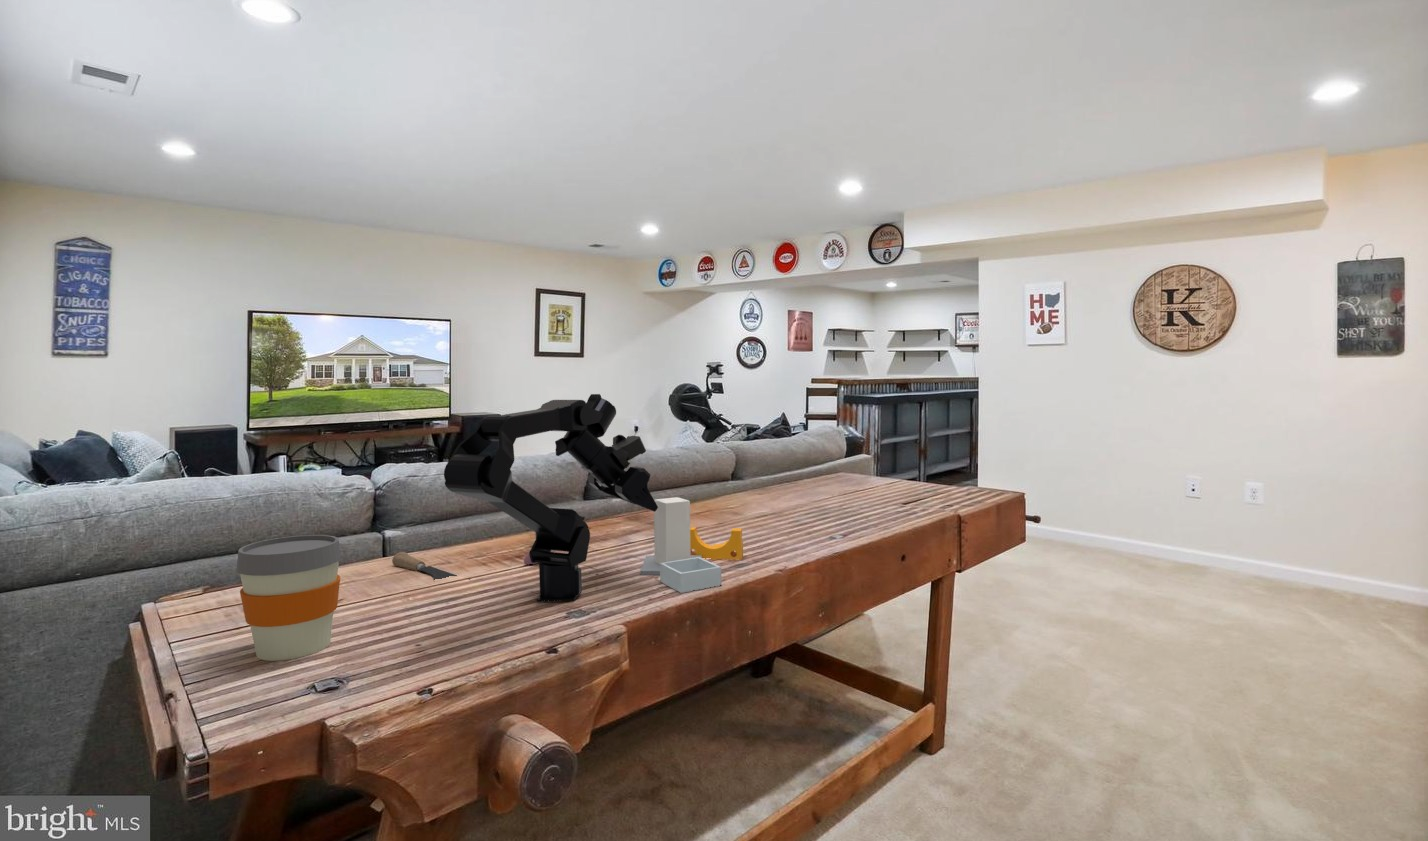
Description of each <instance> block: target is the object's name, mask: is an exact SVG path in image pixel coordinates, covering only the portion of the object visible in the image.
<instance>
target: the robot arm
mask: <svg viewBox="0 0 1428 841" xmlns="http://www.w3.org/2000/svg"><path fill="white" fill-rule="evenodd" d="M589 395H590V396H589V397H588V399H587V402H586V401H585V400H583V399H552V400H548V401H547V402H544V403H543V404H542V405H541V406H540V408H537V409H531V410H525V411H518V412H512V413H508V414H507V413H506V414H500V415H496V414H495V415H494V414H492V415H491V414H490V415H487V416H485V417H483V418H482V419H480V421H479V423H478V425H477V426H476V428H475V430H474V431H473V432H471V433H470V434H469V435H468V436H466V438H464V440H462V441H461V442H460V443H459V444H457V446H456V447H455V450H454V451H453V453H452V454H451V456H450V459H448V461H447V463H446V465H445V467H444V470H443V477H444V485H445V487H446V488H447V489H448V490H449V491H450V492H452V493H455V494H457V495H461V496H464V497H467V498H472V499H477V500H481V501H485V502H488V503H490V504H491V505H493V507H496V508H497V509H499V510H500V511H502V512H503V513H505V514H506V515H508V516H510V517H512V518H513V519H514V520H516V521H517V522H519V523H521V524H522V525H523V526H525V527H527V528H528V529H530V530H531V531H533V532H535V540H534V542H533V543H532V546H531V548H530V550H529V552H528V553H529V556H530V559H531V563H536V564H539V565H538V568H539V570H538V571H539V572H538V574H539V577H538V578H539V596H538V597H537V598H536V600H537V602H540V603H541V602H543V603H544V602H545V603H547V602H575V601H576V600H577V597H578V596H579V595H580V593H581V592H582V591H583V585H582V584H583V582H582V576H583V574H582V571H583V570H582V568H581V567H579V565H580V564H582V563H584V562H586V561H587V557H588V550H589V545H590V540H591V531H590V529H589V526H588V523H587V522H586V521H584V520H585V519H586V516H581V515H579V513H578V512H577V510H575V509H573V508H559V507H557V508H555V507H549V506H548V505H546V504H545V503H544V502H542V501H541V500H539V499H538V498H537V497H536V496H534V495H532V494H531V493H530V492H528V491H527V490H525V488H523V487H522V486H520V485H518V484H517V483H516V482H514V480H513V475H512V474H513V472H512V470H511V468H512V467H513V464H514V462H515V450H514V448H515V446H514V444H515V442H516V440H517V439H519V438H524V437H529V436H534V435H537V434H542V433H548V432H565V434H564V436H563V437H561V438H559V439H557V440H555V441H554V443H555V456H556V457H560V456H561V455H564V454H566V453H568V454H569V455H570V456H571V457H572V458H574V459H575V460H576V462H578V463H579V464H580V466H581V467H580V468H581V469H582V470H584V471H585V472H588V473H589V475H588V477H587V478H588V479H587V480H588V482H587V483H588V484H589V485H590V486H591V487H593V489H596V490H598V491H599V492H601V493H604V494H607V495H609V496H612V497H614V498H617V499H620V500H623V501H625V502H628V503H630V504H633V505H636V506H639V507H641V508H644V509H647V510H650V511H652V512H653V513H654V512H655V511H656V510H657V509H658V506H657V504H656V503H655V501H654V500H655V499H654V497H653V495H652V493H651V491H650V490H649V488H648V484H649V482H650V478H651V473H649V471H648V470H646V468H644V467H641V466H630V467H629V465H631V463H630V462H629V461H631V460H633V459H634V458H636V457H638V456H639V455H643V454H644V453H646V452H647V450H646V447H645V445H644V443H643V440H642V438H641V436H639V435H628V436H626V437H625V436H624V435H622V434H617V435H615V436H613V438H612V444H611V446H608V445H605V443H604V442H602V440H601V439H599V438H601V437H604V436H605V433H606V432H607V430H608V429H609V427H610V425H611V424H612V422H613V420H614V418H615V417H616V415H617V409H616V407H615V405H613V404H612V403H611V402H610V401H609V400H607V399H604V398H603V397H602V396H601V394H600V393H591V394H589ZM492 442H498V445H499V447H498V448H497V451H496V453H495V455H494V454H481V453H482V452H483V451H484V450H486V449H487V448H488V447H489V446H490V445H491V444H492ZM628 467H629V468H628ZM627 468H628V469H627ZM625 469H626V470H625ZM551 550H553V552H550V551H551ZM554 551H555V552H554ZM556 551H557V552H556ZM563 552H565V553H563Z"/></svg>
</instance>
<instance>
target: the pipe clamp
mask: <svg viewBox="0 0 1428 841" xmlns="http://www.w3.org/2000/svg"><path fill="white" fill-rule="evenodd" d="M730 532H731V533H730V537H729V539H728V540H726V541H725V542H722V543H717V544H716V543H714V544H713V545H710V544H708V543H706V542H704V541H703V540H702V539H701V537H700V535H699V534H698V529H697V527H696V526H690V555H702V558H711V559H710V560H717V559H739V560H738V561H741V560H742V559H741V558H743V557H744V541H743V528H737V527H736V528H735V527H733V528H732V529H731V531H730ZM693 550H694V551H693ZM742 556H743V557H742Z"/></svg>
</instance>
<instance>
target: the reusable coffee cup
mask: <svg viewBox="0 0 1428 841" xmlns="http://www.w3.org/2000/svg"><path fill="white" fill-rule="evenodd" d="M341 552H342V551H341V546H340V540H339V538H338V537H337V536H335V535H329V534H328V535H327V534H304V535H303V534H302V535H292V536H284V537H277V538H271V539H266V540H260V541H255V542H252V543H249V544H246V545H243V546H241V547H240V548H239V549H238V552H237V562H236V563H237V564H236V573H238V574H239V576H240V580H241V585H242V588H241V589H240V591H239V595H240V600H241V604H242V611H243V615H244V620H245V623H246V624H247V625H250V626H249V627H250V630H251V636H252V640H253V646H254V650H255V654H256V658H258V659H259V660H262V661H268V662H269V661H273V662H276V661H286V660H292V659H298V658H304V657H306V656H310V655H312V654H316V653H317V652H319V651H322V650H324V649H325V648H327V647H328V646H329V645H330V644H331V640H332V639H331V638H332V630H333V629H332V628H333V620H334V612H335V611H336V610H337V609H338V604H339V603H338V602H339V593H340V592H339V591H340V584H341V576H340V575H339V574H338V572H339V563H340V560H342V553H341Z"/></svg>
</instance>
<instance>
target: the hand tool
mask: <svg viewBox="0 0 1428 841" xmlns="http://www.w3.org/2000/svg"><path fill="white" fill-rule="evenodd" d="M391 560H392V561H391V562H392V564H393V566H395V567H399V568H403V569H407V570H410V569H411V571H415V572H418V570H419V572H424V573H426V574H428V575H431V576H432V580H433V581H434V580H435V579H442V578H446V577H449V576H457V575H458V574H455V573H453V572H450V571H446V570H444V569H441V568H438V567H435V566H432V565H428V566H426V563H425V562H424V561H422V560H420V559H418V558H416V557H414V556H412V555H409V554H408V552H405V551H399V552H398V553H395V554H394V555H393V557H392V559H391Z"/></svg>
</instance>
